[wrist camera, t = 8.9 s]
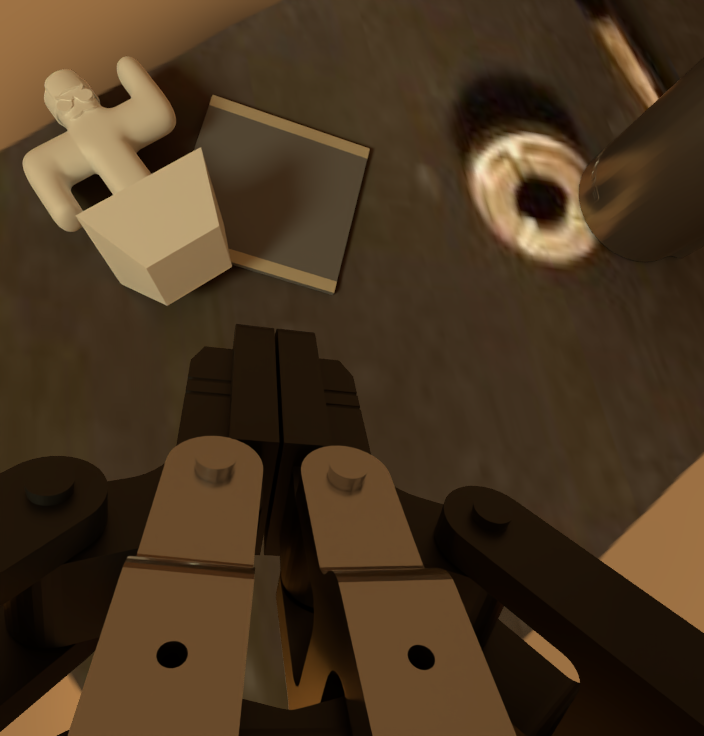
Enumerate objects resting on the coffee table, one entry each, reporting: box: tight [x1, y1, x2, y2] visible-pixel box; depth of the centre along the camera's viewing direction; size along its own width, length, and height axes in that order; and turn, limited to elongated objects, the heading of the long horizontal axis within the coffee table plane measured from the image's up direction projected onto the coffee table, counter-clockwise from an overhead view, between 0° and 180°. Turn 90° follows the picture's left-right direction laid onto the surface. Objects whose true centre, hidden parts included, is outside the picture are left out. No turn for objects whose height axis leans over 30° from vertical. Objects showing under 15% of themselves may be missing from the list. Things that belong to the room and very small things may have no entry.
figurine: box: [23, 56, 232, 306], centre depth 37 cm, size 7×9×15 cm
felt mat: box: [194, 95, 370, 295], centre depth 42 cm, size 11×11×1 cm
